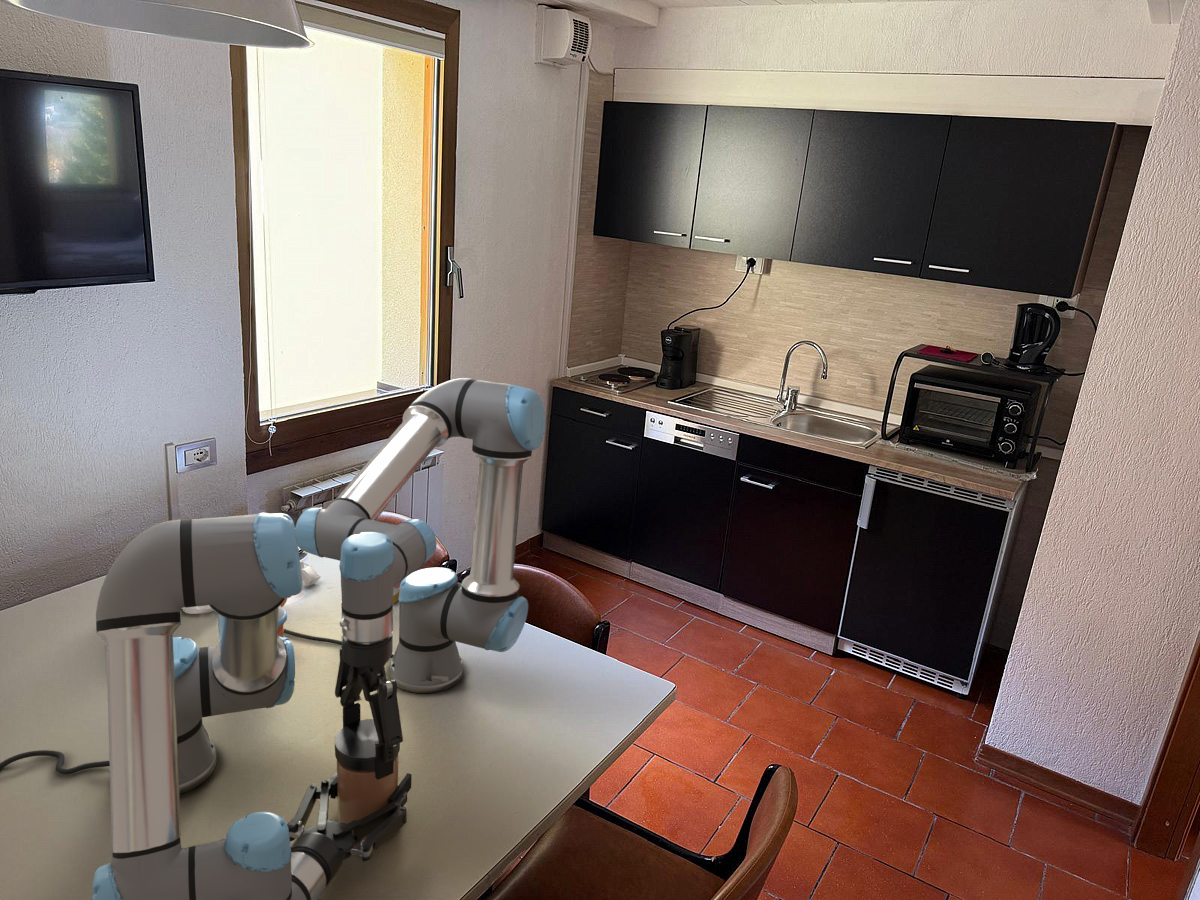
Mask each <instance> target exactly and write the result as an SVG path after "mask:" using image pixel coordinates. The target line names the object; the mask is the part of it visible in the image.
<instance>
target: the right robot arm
mask: <svg viewBox="0 0 1200 900" xmlns="http://www.w3.org/2000/svg"><path fill="white" fill-rule="evenodd" d="M545 432H546V411H545V405H544V402H543V400H542V398H541V396H540V394H539V393H538V392H537V391H536V390H534V389H533V388H528V387H523V386H521V385H520V386H519V385H518V384H510V383H504V382H496V381H495V382H494V381H488V380H481V379H475V378H470V377H460V378H455V379H450V380H447V381H445V382H442V383H440V384H438V385H436V386H433V387H432V388H430V389H428V390H427V391H425V392H424V393H422V394H421V395H420V396H418V397H417V398H416V399H415V400H414V401H412V403H411V404H410V405H409V406H408V407H407V408H406V409H405V411H404V413H403V414H402V421H401V424H399V426H397V428H396V429H395V431H393V433H391V435H390V436H389V437H388V439H386V440H385V442H384V443H383V444H382V445H381V446H380V447H379V448H378V450H377V451H376V452H375V453H374V454H373V455H372V457H370V459H369V460H368V461H367V462H366V463H365V465H364V466H363V467H362V468H361V469H360V470H359V472H358V473H356V475H355V476H354V477H353V478H352V480H351V481H350V482H349V483H348V484H347V485H346V486H345V487H344V489H343V490H342V491H341V492H340V493H339V494H338V496H337V497H336V498H335V499H334V500H333V501H332V502H331V503H330V504H329V506H328V507H326V508H323V507H310V508H307V509H305V510H304V511H303V512H302V513H301V514H300V516H299V517H298V518H297V521H296V524H295V531H296V536H297V544H298V549H300V550H301V551H303V552H305V553H308V554H310V555H313V556H317V557H318V558H326V559H331V560H336V561H339V565H338V566H339V572H340V591H341V593H340V594H341V603H340V605H341V606H340V607H341V620H340V622H339V626H340V627H341V634H342V635H341V640H338V639H334V638H329V637H328V638H327V637H321V636H314V635H309V634H304V633H300V632H297V631H293V630H289V629H286V628H284V634H286V635H289V636H293V637H296V638H300V639H303V640H309V641H315V642H320V643H321V642H322V643H328V644H334V645H339V646H341V648H340V649H339V651H338V652H339V662H338V663H339V665H338V670H337V677H336V683H335V689H334V696H335V697H336V698H340V700H339V703H340V705H341V707H342V728H344V727H345V726H347V725H349V724H351V723H353V722H356V721H360V720H362V718H361V703H359V701H361V700H362V697H361V693H363V697H364V700H365V701H366V702H367V703H368V704H369V708H370V712H371V715H372V719H373V720H374V724H375V728H376V732H377V736H378V741H376V742H375V743H374V744H375V778H376V779H377V780H379V779H381V778H383V777H386V776H388V775H390V774H392V773H394V745H396V744H398V743H400V744H402V743H403V742H404V738H403V737H404V735H403V730H402V723H401V716H400V709H399V702H398V688H399V689H401V690H404V691H407V692H410V693H416V694H430V693H431V694H432V693H438V692H441V691H445V690H447V689H450V688H451V687H453V686H455V685H456V684H457V683H458V682H459V681H460V680H461V679H462V676H463V672H464V664H463V660H462V657H461V656H460V653H459V649H458V646H457V643H460V644H464V645H469V646H471V647H476V648H479V649H484V650H485V651H492V652H498V653H505V652H507V651H509V650H510V649H511V648H513V647H514V645H515V644H516V643H517V641H518V640H519V637H520V635H521V633H522V631H523V629H524V627H525V624H526V621H527V617H528V612H529V601H528V599H527V598H526V597H524V596H522V595H521V596H520V587H521V586H520V582H519V581H518V580H516V578H515V577H514V570H515V558H516V546H517V535H518V524H519V512H520V502H521V491H522V480H523V470H524V464H525V463H526V462H527V461H528V460H529V459H531V457H532V454H533V451H535V450H537V449H538V448H539V447H540V446H541V444H542V443H543V440H544V435H545ZM451 438H464V439H468V440H472V445H471V453H472V454H473V455H474V456H475V457H476V458H477V459H478V470H477V482H476V494H475V496H476V497H475V510H474V521H473V522H474V523H473V534H472V547H471V548H472V549H471V560H470V572H469V574H468V575H467V576H466V577H464V579H462V581H461V582H458V580H459V579H458V575H457V573H456V572H455V571H454V570H453V569H450V568H448V567H447V568H446V567H427V568H422V567H423V566H424V565H425V564H426V562H428V561H429V560H430V559H431V558H432V557H433V556H434V554H435V553H436V550H437V544H438V543H437V537H436V534H435V532H434V530H433V528H432V527H431V526H430V525H429V524H428V523H427V522H425V521H423V520H422V519H419V518H410V519H407V520H405V521H402V522H399V523H398V524H393V523H389V522H384V521H380V520H378V518H379V517H380V516H381V515H382V514H383V512H384V511H385V510H386V509H387V508H388V506H389V505H390V504H391V502H392V501H393V500H394V499H395V497H396V496H397V495H398V494H399V492H400V491H401V490H402V488H403V487H404V486H405V485H406V484H407V483H408V481H409V480H410V478H412V476H413V475H414V474H415V473H416V471H417V470H418V469H419V468H420V466H421V465H422V464H423V463H424V461H425V460H426V458H428V457H429V455H430V454H431V453H432V452H433V450H434V449H435V448H439V447H442V446H443V445H444V444H446V443H447V441H448V440H449V439H451ZM400 581H402V582H401V584H400V592H399V598H398V601H397V602H398V643H397V645H396V648H395V651H394V650H393V648H394V647H393V646H394V645H393V644H394V641H393V640H394V635H393V631H394V603H393V588H394V586H395V585H396V584H398V583H399V582H400ZM393 651H394V653H393ZM390 659H391V660H390ZM389 660H390V665H389V679H390V680H388V678H387V671H386V668H385V667H386V666H385V665H386V664H387V662H388V661H389ZM371 693H372V694H371Z"/></svg>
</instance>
